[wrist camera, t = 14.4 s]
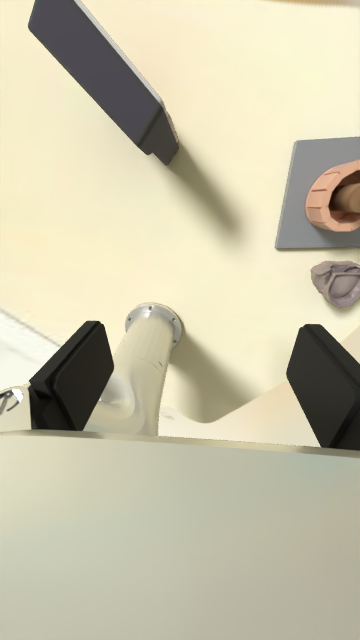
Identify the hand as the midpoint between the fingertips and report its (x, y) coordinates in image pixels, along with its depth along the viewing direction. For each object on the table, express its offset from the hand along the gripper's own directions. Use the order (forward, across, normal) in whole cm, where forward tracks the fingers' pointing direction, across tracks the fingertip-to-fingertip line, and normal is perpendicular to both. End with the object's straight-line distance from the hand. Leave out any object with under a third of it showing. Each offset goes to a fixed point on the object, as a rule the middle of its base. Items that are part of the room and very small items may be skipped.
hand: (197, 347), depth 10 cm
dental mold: (+31, -24, +7) cm, 39 cm away
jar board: (+30, -20, -6) cm, 37 cm away
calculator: (+31, +8, -16) cm, 35 cm away
